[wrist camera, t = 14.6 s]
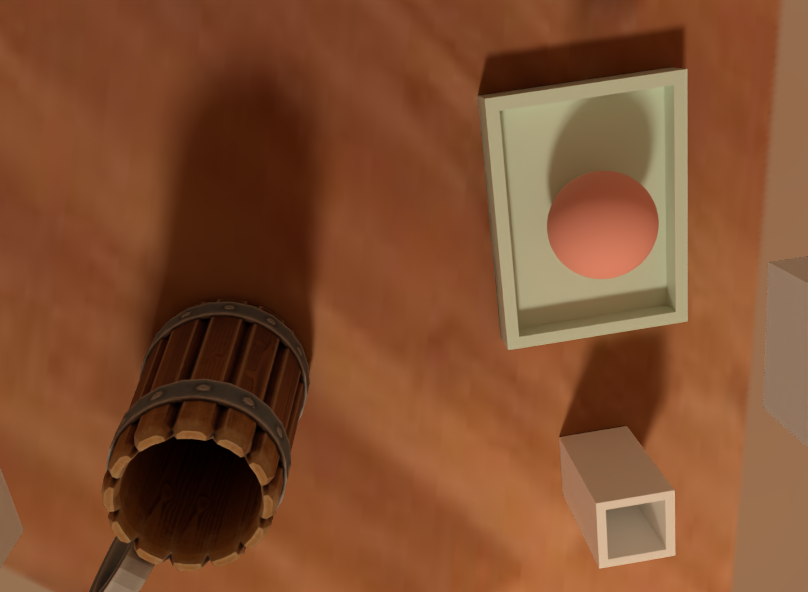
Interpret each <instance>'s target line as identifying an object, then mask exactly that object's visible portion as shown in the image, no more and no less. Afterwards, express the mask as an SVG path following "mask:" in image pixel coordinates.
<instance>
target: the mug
mask: <svg viewBox="0 0 808 592" xmlns="http://www.w3.org/2000/svg"><path fill="white" fill-rule="evenodd" d="M309 384H310V382H309V365H308V362H307V359H306V356H305V351H304V349H303V346H302V344H301V341H300V340H299V338H298V337H297V335H296V334H295V332H294V331H293V330H291V329H289V328H288V327H287V326H285V325H284V320H283V319H281V318H280V317H279V316H277V315H276V314H275V313H273V312H272V311H270V310H268V309H266V308H264V307H262V306H251V305H250V303H249V302H248V301H242V300H236V299H218V300H217V301H216V302H206V301H204V302H201V303H198V304H195V305H192V306H190V307H188V308H186V309H184V310H183V311H181V312H179V313H178V315H177V316H175V317H173V318H172V319H170V320H169V321H168V322H167V323H166V324H165V325H164V326H163V327H162V328H161V329H160V330H159V332H158V333H157V334H156V335H155V337H154V339H153V341H152V343H151V345H150V347H149V349H148V351H147V353H146V356H145V358H144V361H143V363H142V367H141V374H140V380H139V383H138V386H137V389H136V391H135V394H134V397H133V399H132V402H131V405H130V408H129V410H128V411H127V412H126V413H125V415H124V417H123V419H122V421H121V423H120V425H119V427H118V429H117V431H116V433H115V436H114V439H113V441H112V444H111V447H110V449H109V453H108V459H107V466H106V474H105V476H104V480H103V486H102V497H103V503H104V507H105V508H106V509H107V510H108V511H109V512H110V513H109V515H108V519H109V522H110V525H111V528H112V530H113V532H114V533H115V535H116V537H115V539H114V541H113V543H112V545H111V546H110V548H109V550H108V552H107V554H106V556H105V558H104V560H103V563H102V565H101V567H100V569H99V571H98V573H97V575H96V577H95V579H94V582H93V584H92V586H91V588H90V591H89V592H139V591H140V589H141V587H142V586H143V584H144V583H145V581H146V579H147V578H148V576H149V574H150V572H151V570H152V569H153V567H154V565H155V564H161V563H163V562H164V561H166V560H167V559H169V558H170V561H171V563H172V565H173V567H175V568H176V569H178V570H180V571H196V570H198V569H200V568H202V567H204V566H205V565H206V563H207V562H208V561H209V560H210V561H211V563H212V564H213V565H214V566H220V567H221V566H224V565H226V564H229V563H231V562H233V561H235V560H236V559H238V558H239V557H240V556H241V555H242V554H244V553H245V549H246V548H250V547H254V546H255V545H256V544H257V543H258V542H259V541H260V540H261V539H262V538H263V537H264V536H265V535H266V533H267V531H268V529H269V528H270V526H271V524H272V519H273V515H274V514H276V510H277V508H278V507H279V505H280V503H281V501H282V499H283V495H284V491H285V487H286V482H287V478H288V474H289V470H290V465H291V449H292V445H293V440H294V436H295V432H296V428H297V424H298V421H299V419H300V417H301V416H302V414H303V409H304V405H305V401H306V397H307V392H308V388H309Z"/></svg>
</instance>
